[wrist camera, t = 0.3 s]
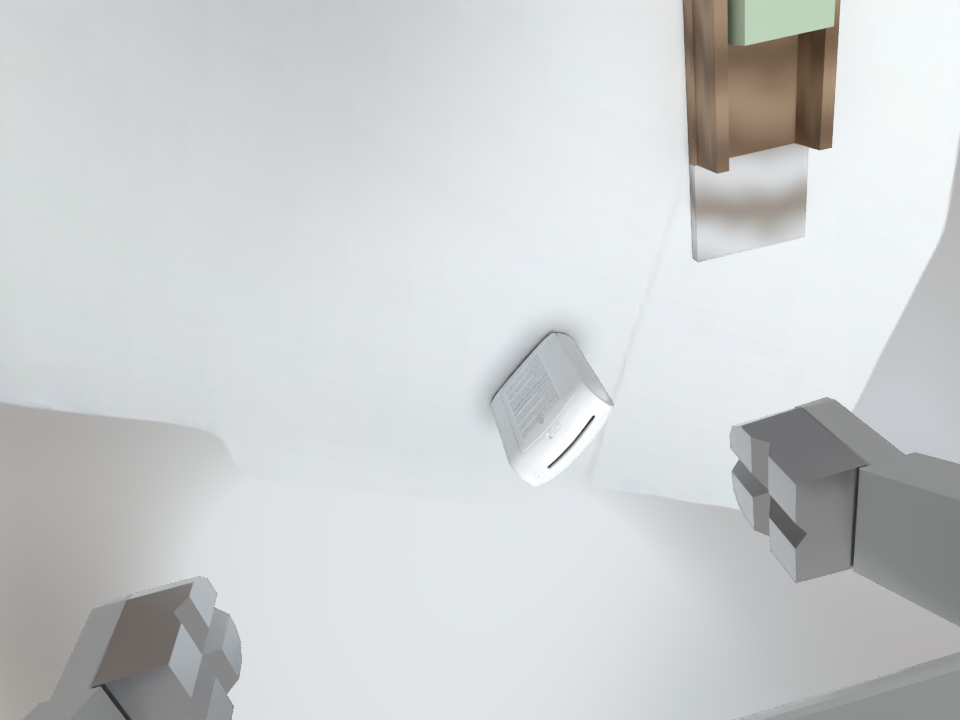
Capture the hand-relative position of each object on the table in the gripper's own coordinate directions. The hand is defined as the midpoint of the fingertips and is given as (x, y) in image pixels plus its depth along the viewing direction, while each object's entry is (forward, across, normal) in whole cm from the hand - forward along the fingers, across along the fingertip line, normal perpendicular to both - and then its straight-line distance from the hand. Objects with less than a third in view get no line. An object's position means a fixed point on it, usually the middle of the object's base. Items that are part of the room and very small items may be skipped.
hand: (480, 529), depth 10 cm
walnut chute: (+47, -29, +5) cm, 55 cm away
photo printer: (+47, -7, +25) cm, 54 cm away
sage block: (+46, -29, -2) cm, 54 cm away
